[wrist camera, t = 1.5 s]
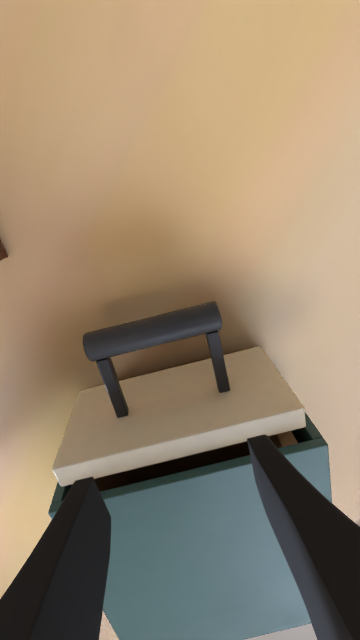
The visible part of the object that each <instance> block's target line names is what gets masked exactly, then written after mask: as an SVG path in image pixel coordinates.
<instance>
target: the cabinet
mask: <svg viewBox="0 0 360 640" xmlns="http://www.w3.org/2000/svg"><path fill="white" fill-rule="evenodd" d="M305 420H306V427H304V428H300V429H296V430H292V431H291V432H292V433H293V435H294V437H295V439H296V440H297V442H298V443H297V444H293V445H289V446H285V447H281V448H278V449H279V450H280V452H281V453H282V454H283V455H284V456H285V457H286V458H287V459H288V460H289V462H290V463H291V464H292V465H293V466H294V467H295V468H296V469H297V470H298V471H299V472H300V473H301V474H302V475H303V476H304V477H305V478H306V479H307V480H308V481H309V482H310V483H311V484H312V485H313V486H314V487H315V488H316V489H317V490H318V491H319V492H320V493H321V494H322V495H323V496H325V497H326V498H327V499H328V500H329V501H330V502H331V503H332V498H331V483H330V469H329V454H328V444H327V443H326V441H325V440H324V438H322V436H321V434H320V433H319V431H318V430H317V428H316V427H315V426H314V424H313V423H312V421H311V420H310V418H309V417H308V416H307V414H306V413H305ZM72 485H73V484H71V485H67V486H63V487H62V486H60V484H59V482H58V483H57V487H56V490H55V493H54V496H53V499H52V504H51V505H50V509H49V512H48V513H49V515H50V517H51V519H53V517H54V516H55V514H56V512H57V510H58V509H59V507H60V505H61V504H62V502H63V500H64V499H65V497H66V495H67V493H68V492H69V490H70V488H71V487H72ZM100 494H101V496H102V498H103V500H104V502H105V505H106V507H107V509H108V511H109V513H110V515H111V548H110V559H109V566H108V574H107V582H106V589H105V596H104V604H103V611H104V613H105V615H106V617H107V618H108V620H109V622H110V624H111V626H112V627H113V629H114V631H115V633H116V634H117V636H118V638H119V640H244V639H248V638H252V637H256V636H260V635H264V634H269V633H273V632H277V631H281V630H285V629H289V628H294V627H298V626H302V625H306V624H310V623H311V620H310V617H309V614H308V611H307V609H306V606H305V604H304V601H303V599H302V596H301V593H300V591H299V589H298V586H297V584H296V582H295V579H294V577H293V575H292V573H291V570H290V568H289V566H288V563H287V561H286V559H285V556H284V554H283V552H282V550H281V547H280V545H279V543H278V540H277V538H276V536H275V534H274V531H273V529H272V527H271V524H270V522H269V520H268V517H267V515H266V512H265V509H264V506H263V503H262V500H261V497H260V494H259V491H258V488H257V485H256V482H255V477H254V472H253V467H252V462H251V456H250V455H248V456H244V457H240V458H236V459H232V460H228V461H224V462H220V463H215V464H211V465H207V466H203V467H199V468H195V469H191V470H187V471H183V472H179V473H175V474H170V475H166V476H162V477H158V478H154V479H150V480H146V481H142V482H138V483H134V484H130V485H126V486H121V487H117V488H113V489H109V490H105V491H101V492H100Z"/></svg>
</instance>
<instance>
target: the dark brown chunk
mask: <svg viewBox="0 0 360 640" xmlns="http://www.w3.org/2000/svg"><path fill="white" fill-rule="evenodd" d="M6 257H8V256H7V254H6V251H5V249H4V247H3V244H2V242H1V240H0V260H2V259H4V258H6Z"/></svg>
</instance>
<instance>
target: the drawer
mask: <svg viewBox="0 0 360 640" xmlns="http://www.w3.org/2000/svg"><path fill="white" fill-rule="evenodd" d="M221 329H222V320H221V315H220V311H219V308H218V305H217V303H216V302H214V301H213V302H209V303H205V304H201V305H197V306H193V307H189V308H185V309H181V310H177V311H173V312H169V313H165V314H161V315H157V316H153V317H149V318H145V319H141V320H137V321H132V322H128V323H124V324H120V325H116V326H112V327H108V328H104V329H100V330H96V331H92V332H88V333H85V334H84V336H83V346H84V350H85V353H86V356H87V358H88V359H89V360H90V361H96V360H97V361H96V363H97V366H98V368H99V371H100V374H101V376H102V379H103V381H104V384H105V385H101V386H96V387H92V388H88V389H84V390H81V391H79V394H78V397H77V400H76V403H75V406H74V408H73V411H72V414H71V417H70V420H69V422H68V425H67V428H66V431H65V434H64V437H63V439H62V442H61V445H60V448H59V451H58V453H57V456H56V459H55V462H54V465H53V468H52V470H53V472H54V474H55V476H56V478H57V480H58V482H59V484H60V486H62V487H63V486H67V485H71V484H73V483H74V482H75V481H76V480H80V479H84V478H88V477H92V476H93V478H94V480H95V483H96V485H97V487H98V489H99V491H100V492H101V491H105V490H109V489H113V488H117V487H121V486H126V485H130V484H134V483H138V482H142V481H146V480H150V479H154V478H158V477H162V476H166V475H170V474H175V473H179V472H183V471H187V470H191V469H195V468H199V467H203V466H207V465H211V464H215V463H220V462H224V461H228V460H232V459H236V458H240V457H244V456H248V455H250V451H249V446H248V441H247V438H252V437H256V436H260V435H264V434H265V435H267V436H269V438H270V439H271V441H272V442H273V443H274V444H275V446H276V447H277V448H281V447H285V446H289V445H293V444H297V443H298V442H297V440H296V439H295V437H294V435H293V433H292V432H291V431H292V430H296V429H300V428H304V427H306V420H305V410H304V406H303V405H302V404H301V402H300V401H299V399H298V398H297V397H296V395H295V394H294V392H293V391H292V390H291V388H290V387H289V385H288V384H287V383H286V381H285V380H284V378H283V377H282V376H281V374H280V373H279V371H278V370H277V369H276V367H275V366H274V364H273V363H272V362H271V360H270V359H269V357H268V356H267V355H266V353H265V352H264V350H263V349H262V348H261V346H259V347H255V348H251V349H246V350H242V351H238V352H234V353H230V354H226V355H223V351H222V346H221V341H220V336H219V332H218V330H221ZM205 333H206V338H207V342H208V347H209V351H210V356H211V358H210V359H206V360H202V361H198V362H194V363H190V364H186V365H182V366H178V367H174V368H169V369H165V370H161V371H157V372H153V373H149V374H145V375H141V376H137V377H133V378H129V379H125V380H121V381H118V378H117V375H116V372H115V369H114V367H113V364H112V361H111V358H110V357H112V356H116V355H120V354H124V353H128V352H132V351H136V350H140V349H145V348H149V347H153V346H157V345H161V344H165V343H169V342H173V341H177V340H181V339H185V338H189V337H193V336H197V335H201V334H205Z"/></svg>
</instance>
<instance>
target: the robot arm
mask: <svg viewBox="0 0 360 640" xmlns="http://www.w3.org/2000/svg"><path fill="white" fill-rule="evenodd" d="M247 441H248V446H249V451H250V456H251V462H252V467H253V472H254V477H255V482H256V485H257V488H258V491H259V494H260V497H261V500H262V503H263V506H264V509H265V512H266V515H267V517H268V520H269V522H270V524H271V527H272V529H273V531H274V534H275V536H276V538H277V540H278V543H279V545H280V547H281V550H282V552H283V554H284V556H285V559H286V561H287V563H288V566H289V568H290V570H291V573H292V575H293V577H294V579H295V582H296V584H297V586H298V589H299V591H300V593H301V596H302V599H303V601H304V604H305V606H306V609H307V611H308V614H309V617H310V620H311V623H312V626H313V628H314V631H315V634H316V636H317V640H360V527H359V526H358V525H357V524H356V523H354V522H353V521H352V520H351V519H350V518H348V517H347V516H346V515H345V514H344V513H343V512H341V511H340V510H339V509H338V508H337V507H336V506H335V505H333V504H332V503H331V502H330V501H329V500H328V499H327V498H326V497H325V496H323V495H322V494H321V493H320V492H319V491H318V490H317V489H316V488H315V487H314V486H313V485H312V484H311V483H310V482H309V481H308V480H307V479H306V478H305V477H304V476H303V475H302V474H301V473H300V472H299V471H298V470H297V469H296V468H295V467H294V466H293V465H292V464H291V463H290V462H289V460H288V459H287V458H286V457H285V456H284V455H283V454H282V453H281V452H280V450H279V449H278V448H277V447H276V446H275V444H274V443H273V442H272V441H271V439H270V438H269V436H267V435H265V434H264V435H260V436H256V437H252V438H247ZM110 548H111V515H110V513H109V511H108V509H107V507H106V505H105V502H104V500H103V498H102V496H101V494H100V491H99V489H98V487H97V485H96V483H95V480H94V478H93V476H92V477H88V478H84V479H80V480H76V481H75V482H74V483H73V485H72V487H71V488H70V490H69V492H68V493H67V495H66V497H65V499H64V500H63V502H62V504H61V505H60V507H59V509H58V510H57V512H56V514H55V516H54V517H53V519H52V521H51V522H50V524H49V526H48V527H47V529H46V531H45V532H44V534H43V535H42V537H41V539H40V540H39V542H38V544H37V545H36V547H35V548H34V550H33V552H32V553H31V555H30V556H29V558H28V559H27V561H26V562H25V564H24V565H23V567H22V568H21V570H20V571H19V573H18V574H17V576H16V577H15V579H14V580H13V582H12V583H11V585H10V586H9V588H8V589H7V591H6V592H5V593H4V595H3V596H2V598H1V599H0V640H99V633H100V626H101V618H102V611H103V604H104V596H105V589H106V582H107V574H108V566H109V559H110Z"/></svg>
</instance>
